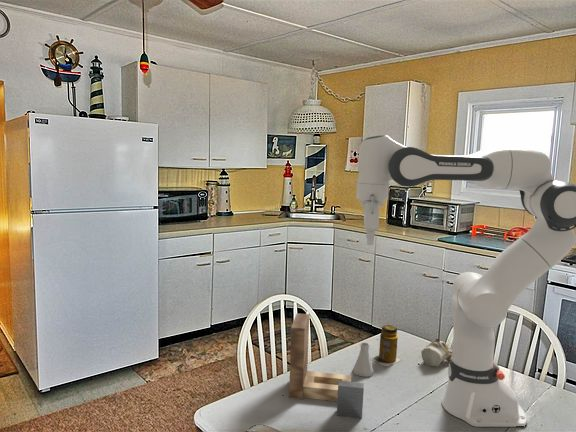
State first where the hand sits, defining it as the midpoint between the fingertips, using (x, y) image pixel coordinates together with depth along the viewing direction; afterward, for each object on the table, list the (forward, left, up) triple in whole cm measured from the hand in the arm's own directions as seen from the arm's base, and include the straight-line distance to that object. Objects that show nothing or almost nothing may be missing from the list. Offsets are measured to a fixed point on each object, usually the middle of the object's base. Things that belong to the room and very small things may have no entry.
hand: (369, 241), depth 132 cm
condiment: (-9, -27, -48) cm, 56 cm away
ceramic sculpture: (-27, -30, -48) cm, 63 cm away
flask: (-1, -16, -48) cm, 51 cm away
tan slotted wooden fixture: (+12, -1, -48) cm, 49 cm away
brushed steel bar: (+3, +10, -48) cm, 49 cm away
